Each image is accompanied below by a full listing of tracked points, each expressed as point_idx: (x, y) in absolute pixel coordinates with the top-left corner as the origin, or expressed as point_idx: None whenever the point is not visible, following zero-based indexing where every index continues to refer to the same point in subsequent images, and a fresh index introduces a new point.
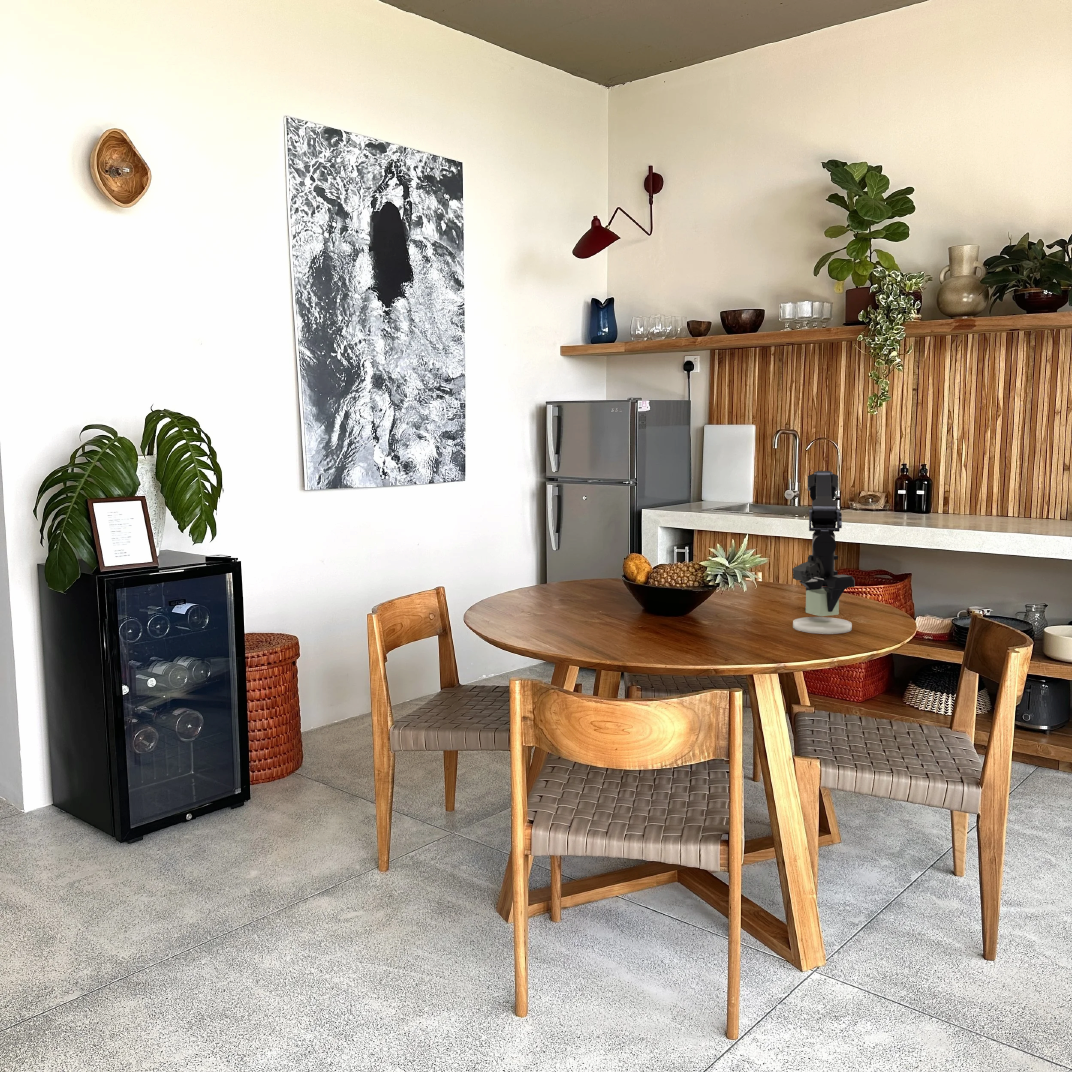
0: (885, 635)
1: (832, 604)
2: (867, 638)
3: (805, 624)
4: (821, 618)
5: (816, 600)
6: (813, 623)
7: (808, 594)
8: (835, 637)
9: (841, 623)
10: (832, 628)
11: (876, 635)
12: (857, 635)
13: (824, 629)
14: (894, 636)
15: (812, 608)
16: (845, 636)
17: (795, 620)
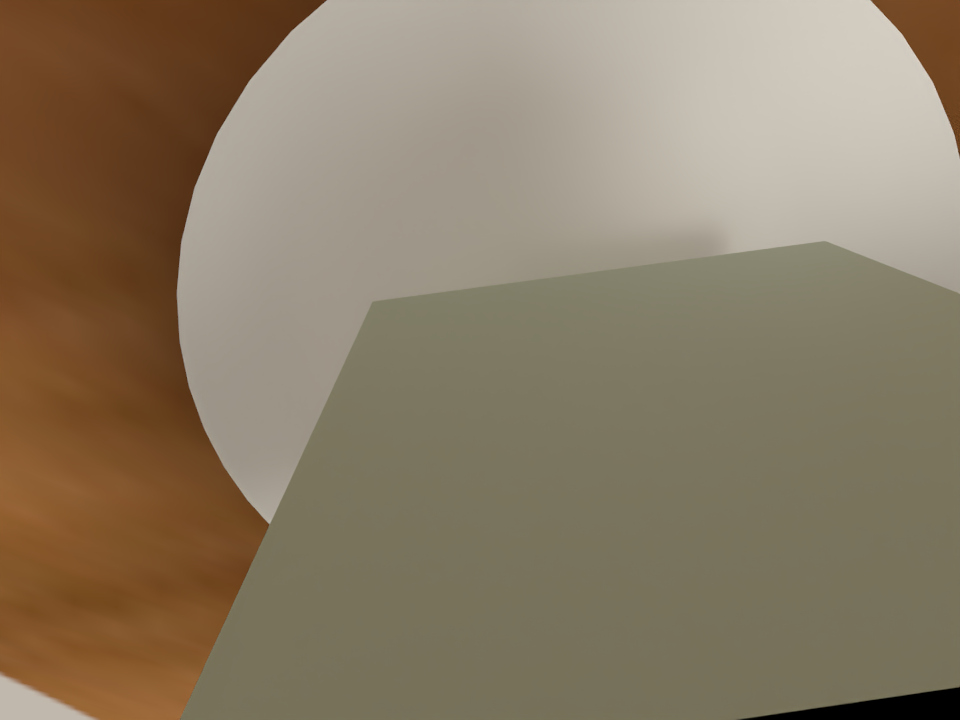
0: (150, 663)
1: None
2: (20, 513)
3: (536, 69)
4: None
5: (511, 483)
6: (556, 241)
7: None
8: (63, 251)
9: None
10: (179, 321)
11: (154, 617)
12: (165, 498)
13: (197, 213)
14: (109, 692)
15: (647, 315)
16: (120, 380)
17: (886, 79)
